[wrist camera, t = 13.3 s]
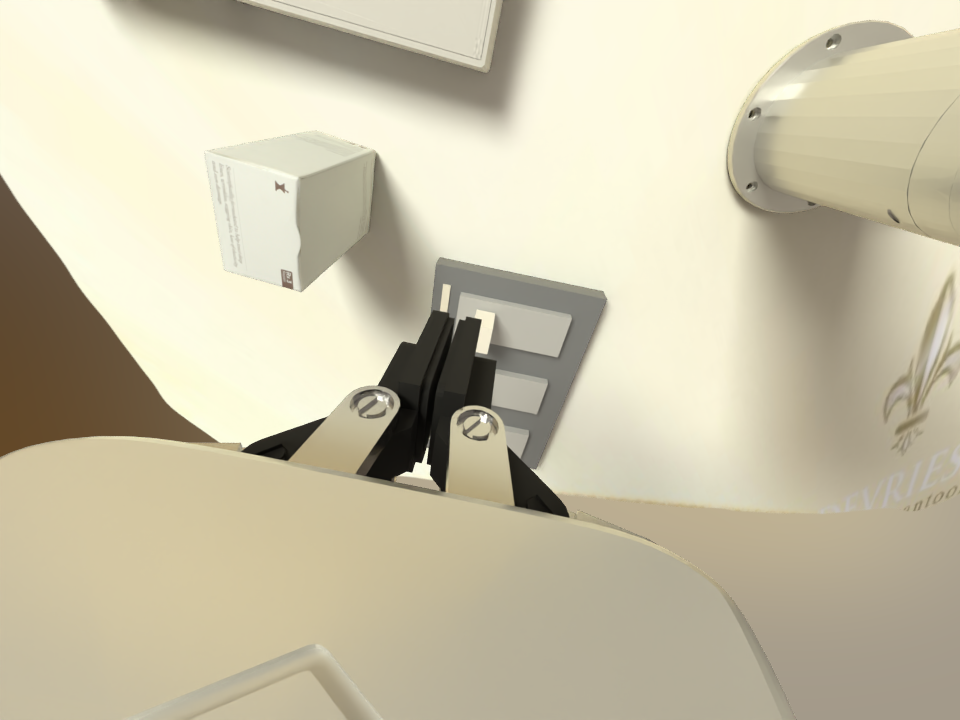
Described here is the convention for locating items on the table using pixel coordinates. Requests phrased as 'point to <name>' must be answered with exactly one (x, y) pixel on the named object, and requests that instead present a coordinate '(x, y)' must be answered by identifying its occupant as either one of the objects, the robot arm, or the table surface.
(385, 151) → the table surface
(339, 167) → the skincare box
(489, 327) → the block
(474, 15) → the power supply unit
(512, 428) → the breaker panel
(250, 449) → the robot arm
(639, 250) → the table surface
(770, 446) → the table surface
